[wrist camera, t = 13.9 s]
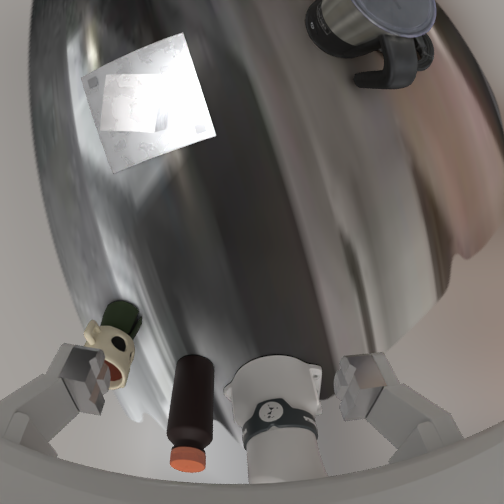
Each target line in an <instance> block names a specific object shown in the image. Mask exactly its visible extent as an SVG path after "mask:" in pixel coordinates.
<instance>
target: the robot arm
mask: <svg viewBox="0 0 504 504" xmlns="http://www.w3.org/2000/svg"><path fill="white" fill-rule="evenodd" d="M104 360H105V355H104V352H103V350H101V349H96V348H90V347H84V346H78V345H72V344H67V343H64V344H62V345H61V347H60V348H59V350H58V352H57V354H56V355H55V357H54V359H53V361H52V363H51V365H50V367H49V369H48V371H47V372H46V374H45V375H44V374H41V375H40V376H38V377H37V378H35V379H33V380H32V381H30V382H29V383H27V384H26V385H24V386H23V387H21V388H19V389H18V390H16V391H15V392H13V393H11V394H10V395H8V396H7V397H5V398H4V399H2V400H1V401H0V504H504V421H502V422H500V423H498V424H496V425H494V426H492V427H490V428H487V429H485V430H483V431H481V432H479V433H476V434H474V435H472V436H470V437H467V438H465V439H464V438H463V436H462V434H461V432H460V431H459V429H458V427H457V425H456V423H455V421H454V419H453V417H452V415H451V414H450V413H449V412H447V411H445V410H444V409H442V408H441V407H439V406H438V405H436V404H435V403H433V402H431V401H430V400H428V399H427V398H425V397H424V396H422V395H421V394H419V393H418V392H416V391H415V390H413V389H412V388H410V387H409V386H407V385H405V384H400V382H399V380H398V378H397V376H396V375H395V373H394V371H393V369H392V367H391V365H390V363H389V361H388V359H387V358H386V356H385V354H384V353H382V352H380V353H370V354H360V355H349V356H343V357H342V358H341V361H340V367H341V369H340V370H339V371H337V372H336V375H335V378H334V391H335V395H336V397H337V398H338V399H339V400H341V401H342V402H341V405H340V410H341V413H342V417H343V419H344V421H350V420H358V419H366V420H367V421H368V422H369V423H370V424H371V425H372V426H373V427H374V428H375V429H376V430H377V431H378V432H379V433H380V434H382V435H383V436H384V437H385V438H386V439H387V440H388V441H389V442H391V444H392V445H393V446H395V447H396V448H397V449H398V450H397V451H396V452H395V453H394V455H393V456H392V457H391V458H390V459H389V464H388V465H385V466H380V467H376V468H372V469H368V470H363V471H358V472H353V473H348V474H342V475H336V476H330V477H329V476H328V475H327V473H326V470H325V468H324V465H323V462H322V459H321V456H320V452H319V448H318V445H317V438H318V430H317V425H316V423H315V416H317V415H321V414H322V406H321V403H320V401H319V395H320V386H321V377H322V369H321V367H320V366H319V365H313V364H307V363H304V362H302V361H301V360H299V359H296V358H293V357H290V356H282V355H274V356H266V357H262V358H258V359H255V360H253V361H251V362H249V363H247V364H245V365H244V366H243V367H241V368H240V369H239V370H238V372H237V373H236V375H235V377H234V379H233V381H232V382H231V383H230V384H229V385H227V386H226V387H225V388H224V395H225V396H226V397H227V398H228V399H229V400H230V401H231V402H232V408H233V418H234V422H235V423H236V424H237V425H238V426H239V427H241V428H242V432H243V435H242V440H243V443H244V448H245V450H246V451H247V463H248V478H249V484H206V483H189V482H177V481H166V480H158V479H151V478H143V477H136V476H131V475H126V474H120V473H115V472H110V471H105V470H101V469H96V468H92V467H88V466H84V465H80V464H77V463H73V462H69V461H66V460H63V459H59V458H57V453H56V451H55V450H54V449H53V447H52V446H51V445H50V444H49V443H48V442H49V441H50V440H51V439H52V438H53V437H54V436H55V435H56V434H58V433H59V432H60V431H61V430H62V429H63V428H64V427H65V426H66V425H67V424H68V423H69V422H70V421H71V420H72V419H73V418H75V417H76V416H77V415H78V414H79V412H83V413H89V414H94V415H101V412H102V408H103V405H104V403H105V400H104V398H103V395H104V394H105V393H106V392H108V390H109V387H110V379H111V376H110V370H109V367H108V365H107V364H105V363H104Z"/></svg>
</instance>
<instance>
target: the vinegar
mask: <svg viewBox="0 0 504 504" xmlns="http://www.w3.org/2000/svg"><path fill="white" fill-rule="evenodd" d="M213 398H214V366H213V364H212V363H211V362H210V361H209V360H208V359H206V358H204V357H201V356H197V355H190V356H185V357H183V358H181V359H180V360H179V361H178V363H177V366H176V371H175V378H174V384H173V391H172V397H171V404H170V411H169V419H168V426H167V436H168V439H169V440H170V441H171V442H172V443H173V444H174V447H172V451H171V457H170V465H171V466H172V467H173V468H174V469H177V470H179V471H183V472H191V473H193V472H200V471H203V470H204V469H205V465H206V456H205V451H204V448H205V447H206V446H208V445H209V444H210V443H211V441H212V439H213Z"/></svg>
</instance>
